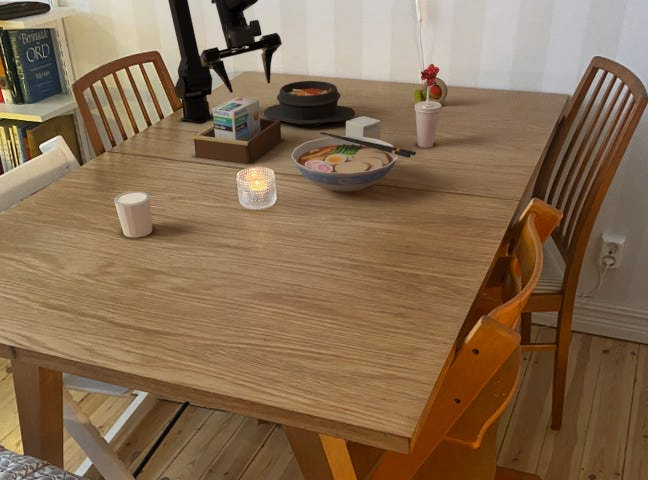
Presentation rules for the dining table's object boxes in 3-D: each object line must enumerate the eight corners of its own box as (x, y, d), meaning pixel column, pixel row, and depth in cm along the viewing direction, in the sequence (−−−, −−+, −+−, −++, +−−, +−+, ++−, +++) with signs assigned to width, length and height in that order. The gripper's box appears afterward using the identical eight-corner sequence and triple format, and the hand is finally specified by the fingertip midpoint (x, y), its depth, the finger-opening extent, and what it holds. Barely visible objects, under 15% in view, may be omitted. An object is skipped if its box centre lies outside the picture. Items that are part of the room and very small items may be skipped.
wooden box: (195, 156, 178) (193, 136, 175) (230, 134, 191) (228, 114, 188) (249, 163, 173) (247, 142, 170) (281, 140, 186) (280, 120, 183)
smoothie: (409, 147, 179) (412, 88, 170) (416, 139, 183) (419, 81, 175) (435, 150, 176) (439, 90, 168) (441, 142, 181) (446, 83, 173)
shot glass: (125, 242, 141) (119, 207, 137) (116, 228, 146) (109, 195, 142) (160, 233, 143) (154, 200, 139) (149, 221, 148) (143, 188, 144)
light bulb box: (237, 157, 177) (233, 111, 171) (215, 152, 180) (210, 108, 174) (262, 143, 184) (260, 99, 178) (241, 139, 187) (237, 96, 181)
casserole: (360, 111, 203) (361, 80, 199) (348, 133, 189) (348, 99, 184) (273, 107, 209) (272, 77, 204) (255, 128, 194) (252, 96, 189)
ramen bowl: (267, 188, 161) (265, 151, 156) (335, 159, 174) (335, 124, 169) (355, 218, 146) (356, 179, 142) (422, 184, 160) (425, 147, 155)
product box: (362, 157, 174) (363, 126, 170) (344, 151, 178) (344, 120, 174) (380, 150, 177) (381, 120, 173) (362, 144, 181) (363, 115, 177)
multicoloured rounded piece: (440, 110, 209) (413, 94, 210) (459, 74, 202) (430, 58, 202) (434, 116, 204) (406, 100, 205) (453, 80, 197) (424, 63, 198)
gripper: (196, 19, 160) (216, 92, 164) (277, 0, 163) (295, 73, 167) (191, 30, 171) (211, 99, 175) (268, 12, 174) (285, 80, 178)
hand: (250, 87), depth 173 cm, fingers open, 9 cm apart
